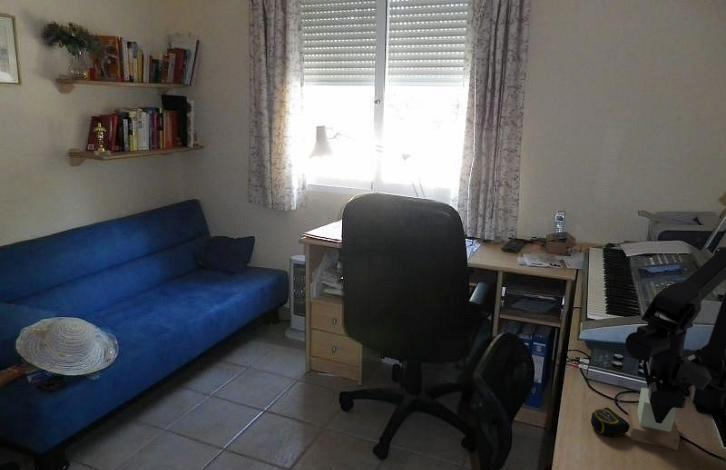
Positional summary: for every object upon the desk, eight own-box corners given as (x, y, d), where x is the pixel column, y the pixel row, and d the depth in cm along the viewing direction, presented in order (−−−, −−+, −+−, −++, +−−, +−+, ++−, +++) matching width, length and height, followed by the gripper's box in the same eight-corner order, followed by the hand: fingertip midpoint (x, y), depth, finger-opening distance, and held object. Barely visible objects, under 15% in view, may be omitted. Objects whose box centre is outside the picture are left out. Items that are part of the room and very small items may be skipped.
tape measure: (629, 436, 116) (632, 422, 115) (604, 442, 114) (607, 428, 113) (607, 418, 122) (609, 404, 121) (583, 423, 120) (585, 409, 119)
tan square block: (671, 425, 119) (673, 414, 119) (677, 450, 111) (680, 438, 111) (627, 416, 123) (629, 405, 122) (631, 439, 115) (633, 428, 114)
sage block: (637, 410, 120) (641, 387, 118) (667, 416, 118) (671, 393, 116) (640, 425, 115) (644, 402, 113) (671, 432, 112) (675, 408, 111)
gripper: (722, 378, 100) (706, 446, 104) (702, 335, 116) (689, 395, 121) (656, 366, 104) (644, 432, 108) (646, 326, 120) (636, 385, 125)
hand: (655, 410), depth 115 cm, fingers open, 9 cm apart
